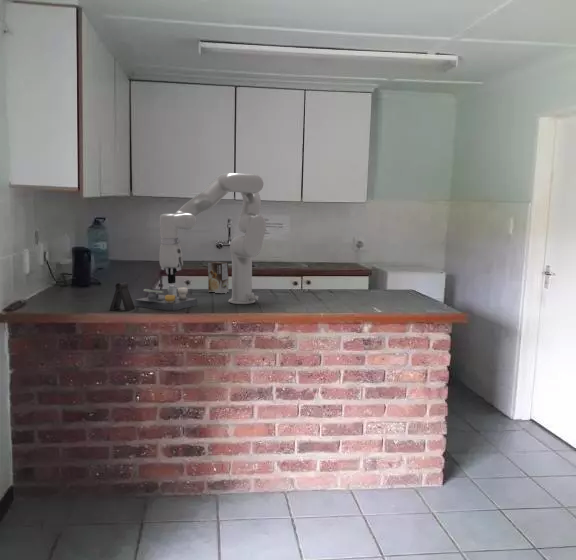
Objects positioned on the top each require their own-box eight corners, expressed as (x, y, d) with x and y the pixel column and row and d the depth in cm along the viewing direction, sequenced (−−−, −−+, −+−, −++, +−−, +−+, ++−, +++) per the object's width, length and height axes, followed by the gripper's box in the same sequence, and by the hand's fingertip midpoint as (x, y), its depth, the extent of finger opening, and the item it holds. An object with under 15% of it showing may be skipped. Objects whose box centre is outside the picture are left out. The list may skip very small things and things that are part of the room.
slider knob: (176, 296, 276) (176, 285, 275) (172, 297, 273) (172, 286, 273) (171, 295, 277) (171, 285, 277) (167, 296, 275) (167, 285, 274)
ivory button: (189, 299, 272) (189, 288, 272) (183, 300, 268) (183, 289, 268) (181, 298, 274) (181, 287, 274) (175, 299, 270) (175, 288, 270)
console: (196, 305, 273) (196, 295, 272) (173, 310, 258) (173, 301, 257) (159, 300, 283) (159, 291, 283) (134, 306, 268) (134, 296, 268)
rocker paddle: (163, 295, 276) (164, 291, 276) (150, 294, 268) (151, 289, 268) (155, 294, 278) (156, 290, 279) (142, 293, 270) (143, 288, 271)
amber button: (177, 306, 265) (177, 295, 264) (170, 308, 261) (170, 296, 260) (169, 305, 267) (169, 294, 266) (163, 307, 263) (162, 295, 262)
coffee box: (229, 292, 311) (229, 262, 308) (222, 294, 305) (222, 263, 303) (214, 291, 315) (214, 261, 313) (207, 292, 309) (207, 262, 307)
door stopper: (109, 310, 258) (108, 283, 256) (116, 307, 264) (115, 281, 262) (128, 311, 256) (128, 283, 254) (134, 308, 262) (134, 282, 260)
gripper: (188, 241, 260) (190, 282, 263) (162, 240, 267) (164, 281, 270) (177, 243, 253) (180, 285, 256) (150, 242, 260) (153, 283, 263)
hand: (171, 283), depth 263 cm, fingers closed
